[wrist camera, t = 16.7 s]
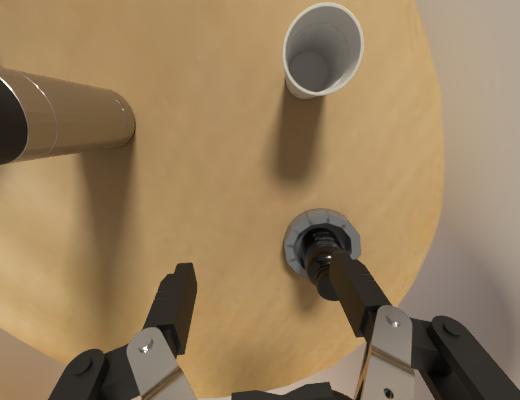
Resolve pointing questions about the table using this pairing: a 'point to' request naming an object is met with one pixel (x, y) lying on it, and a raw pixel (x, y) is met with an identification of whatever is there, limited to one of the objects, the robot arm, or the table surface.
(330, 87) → the cup
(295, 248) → the dish
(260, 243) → the table surface
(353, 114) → the table surface
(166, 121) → the table surface
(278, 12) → the table surface
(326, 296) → the supplement bottle
